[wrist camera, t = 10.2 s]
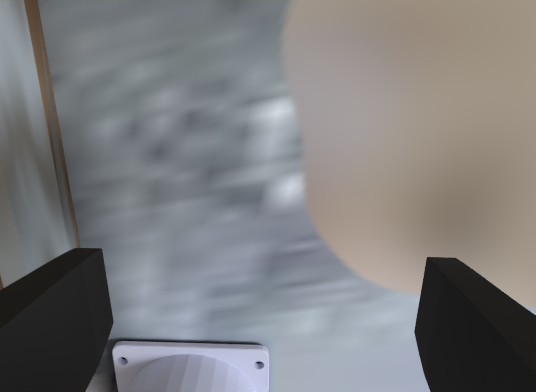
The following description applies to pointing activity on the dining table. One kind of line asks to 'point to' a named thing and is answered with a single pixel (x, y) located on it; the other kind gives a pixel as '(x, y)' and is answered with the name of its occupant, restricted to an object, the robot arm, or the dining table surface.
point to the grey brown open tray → (29, 150)
